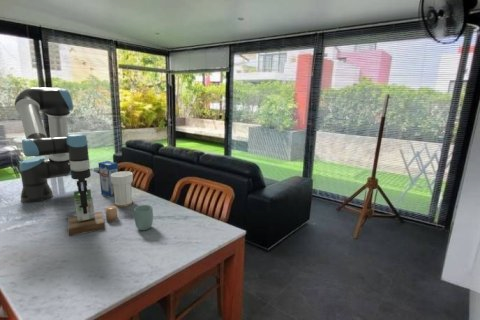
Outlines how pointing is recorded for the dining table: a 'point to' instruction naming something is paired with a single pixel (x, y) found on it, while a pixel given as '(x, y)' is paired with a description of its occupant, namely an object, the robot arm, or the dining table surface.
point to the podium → (85, 224)
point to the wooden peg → (111, 213)
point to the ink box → (78, 203)
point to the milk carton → (107, 177)
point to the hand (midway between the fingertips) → (85, 217)
